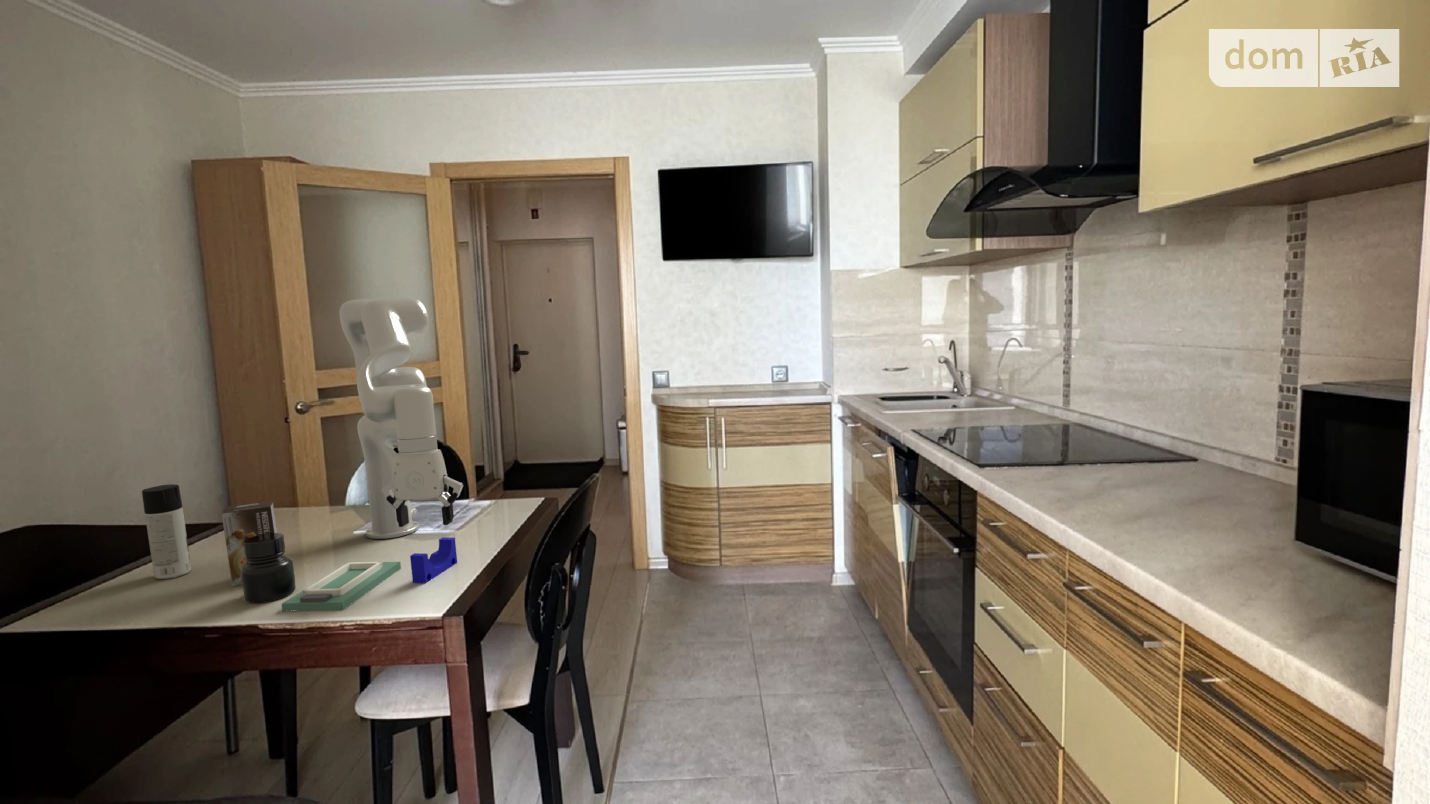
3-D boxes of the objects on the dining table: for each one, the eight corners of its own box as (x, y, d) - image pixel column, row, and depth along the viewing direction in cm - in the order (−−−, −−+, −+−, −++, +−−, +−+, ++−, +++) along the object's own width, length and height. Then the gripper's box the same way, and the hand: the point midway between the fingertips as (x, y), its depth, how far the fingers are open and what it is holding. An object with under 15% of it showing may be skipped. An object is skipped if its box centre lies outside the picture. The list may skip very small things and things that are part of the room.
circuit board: (348, 569, 155) (347, 557, 155) (400, 568, 155) (399, 556, 154) (282, 611, 134) (280, 597, 133) (343, 610, 133) (341, 596, 132)
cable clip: (439, 563, 158) (436, 537, 157) (457, 563, 157) (454, 537, 156) (406, 583, 146) (403, 555, 145) (425, 584, 145) (423, 556, 144)
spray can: (198, 570, 159) (187, 484, 156) (167, 581, 152) (154, 491, 150) (178, 568, 161) (166, 483, 158) (146, 578, 155) (133, 490, 152)
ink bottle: (302, 583, 148) (296, 528, 146) (292, 599, 139) (285, 541, 138) (249, 591, 145) (242, 535, 143) (235, 607, 136) (228, 548, 135)
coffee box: (283, 569, 157) (275, 499, 155) (281, 578, 152) (272, 505, 150) (234, 577, 153) (225, 506, 151) (230, 587, 147) (220, 513, 145)
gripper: (368, 450, 144) (377, 531, 146) (450, 446, 143) (458, 527, 145) (387, 444, 152) (395, 521, 154) (465, 440, 151) (472, 518, 152)
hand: (426, 524), depth 149 cm, fingers open, 9 cm apart
